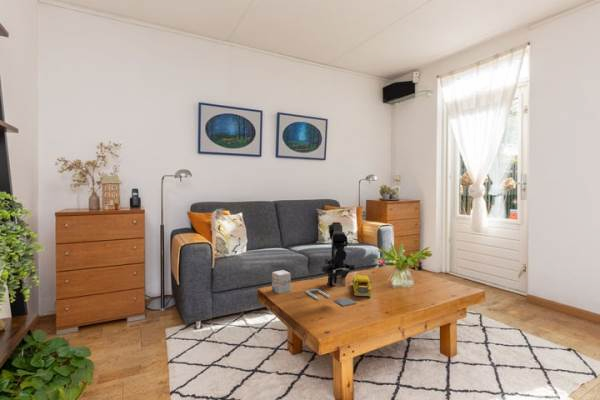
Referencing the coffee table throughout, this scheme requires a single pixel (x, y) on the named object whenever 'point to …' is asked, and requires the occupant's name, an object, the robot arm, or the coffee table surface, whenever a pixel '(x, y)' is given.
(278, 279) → the ink box
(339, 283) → the walnut block
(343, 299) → the slate coaster
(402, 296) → the coffee table surface
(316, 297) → the acrylic channel
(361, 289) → the toy car
